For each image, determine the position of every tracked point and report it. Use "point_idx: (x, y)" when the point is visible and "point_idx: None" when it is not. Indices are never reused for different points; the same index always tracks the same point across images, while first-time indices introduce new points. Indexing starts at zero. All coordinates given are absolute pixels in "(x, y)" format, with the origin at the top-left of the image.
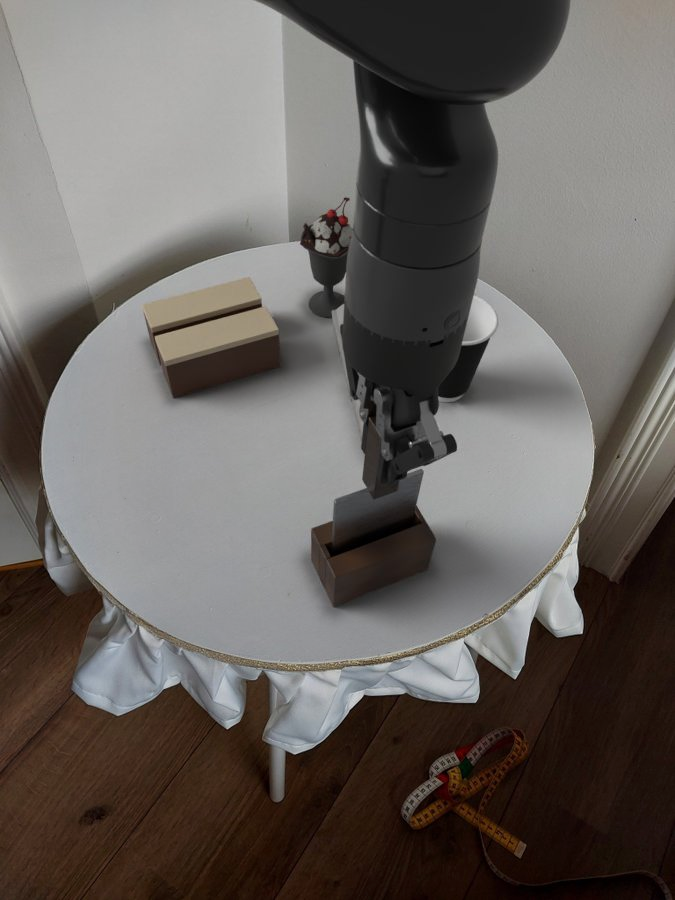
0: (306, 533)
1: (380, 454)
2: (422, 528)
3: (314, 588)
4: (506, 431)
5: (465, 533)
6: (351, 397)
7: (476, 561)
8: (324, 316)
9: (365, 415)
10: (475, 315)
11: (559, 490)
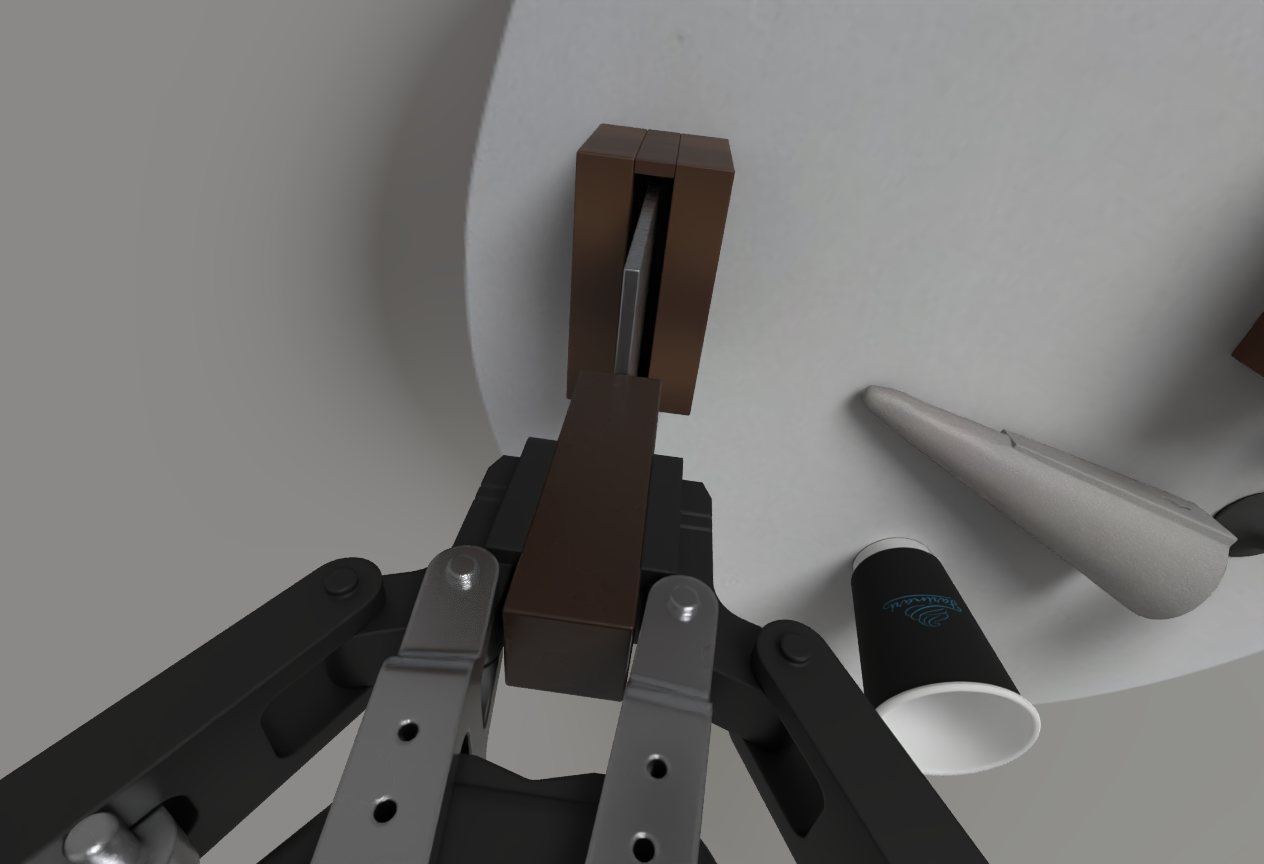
0: (793, 166)
1: (518, 535)
2: None
3: (662, 107)
4: (748, 579)
5: None
6: (1007, 437)
7: (564, 412)
8: (1239, 502)
9: (657, 621)
10: (940, 730)
11: None
